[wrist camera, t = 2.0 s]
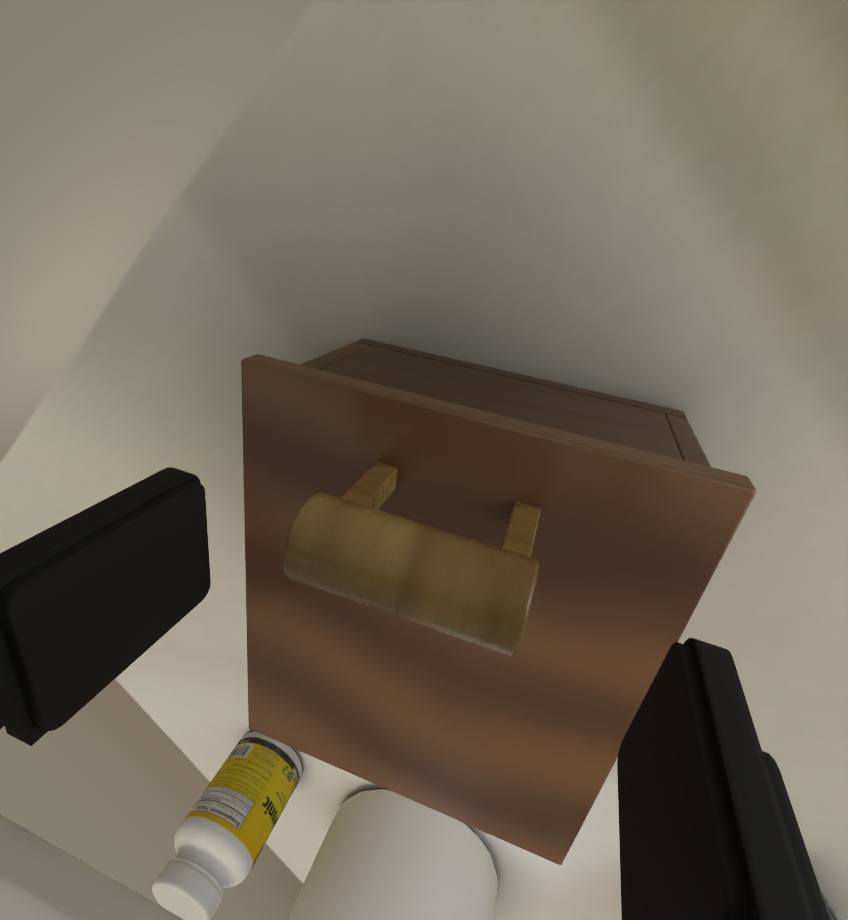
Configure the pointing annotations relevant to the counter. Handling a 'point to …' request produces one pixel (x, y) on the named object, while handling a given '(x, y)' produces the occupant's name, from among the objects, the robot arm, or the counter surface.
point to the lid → (462, 593)
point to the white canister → (397, 865)
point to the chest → (519, 397)
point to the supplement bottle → (228, 826)
